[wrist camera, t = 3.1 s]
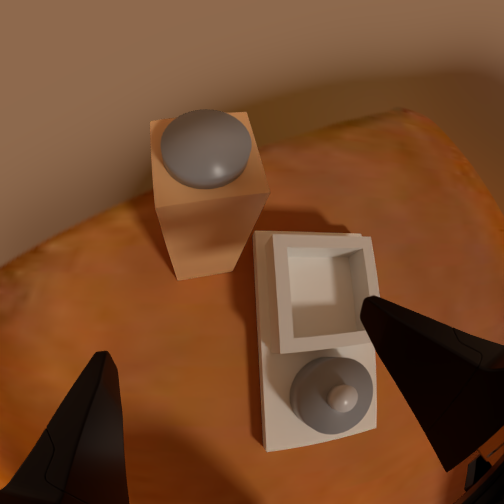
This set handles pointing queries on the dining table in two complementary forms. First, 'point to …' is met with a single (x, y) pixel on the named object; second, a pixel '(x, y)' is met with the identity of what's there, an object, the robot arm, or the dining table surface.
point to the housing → (314, 336)
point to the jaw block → (206, 188)
